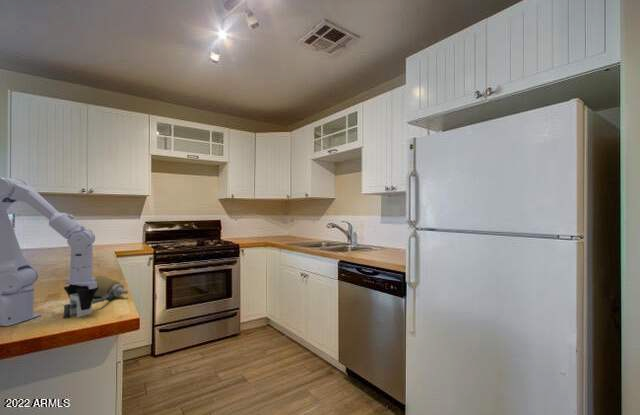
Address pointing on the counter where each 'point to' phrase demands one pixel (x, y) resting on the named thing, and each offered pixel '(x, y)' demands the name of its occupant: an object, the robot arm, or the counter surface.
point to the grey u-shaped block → (78, 306)
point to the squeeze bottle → (108, 287)
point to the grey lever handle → (109, 294)
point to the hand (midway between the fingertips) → (80, 308)
